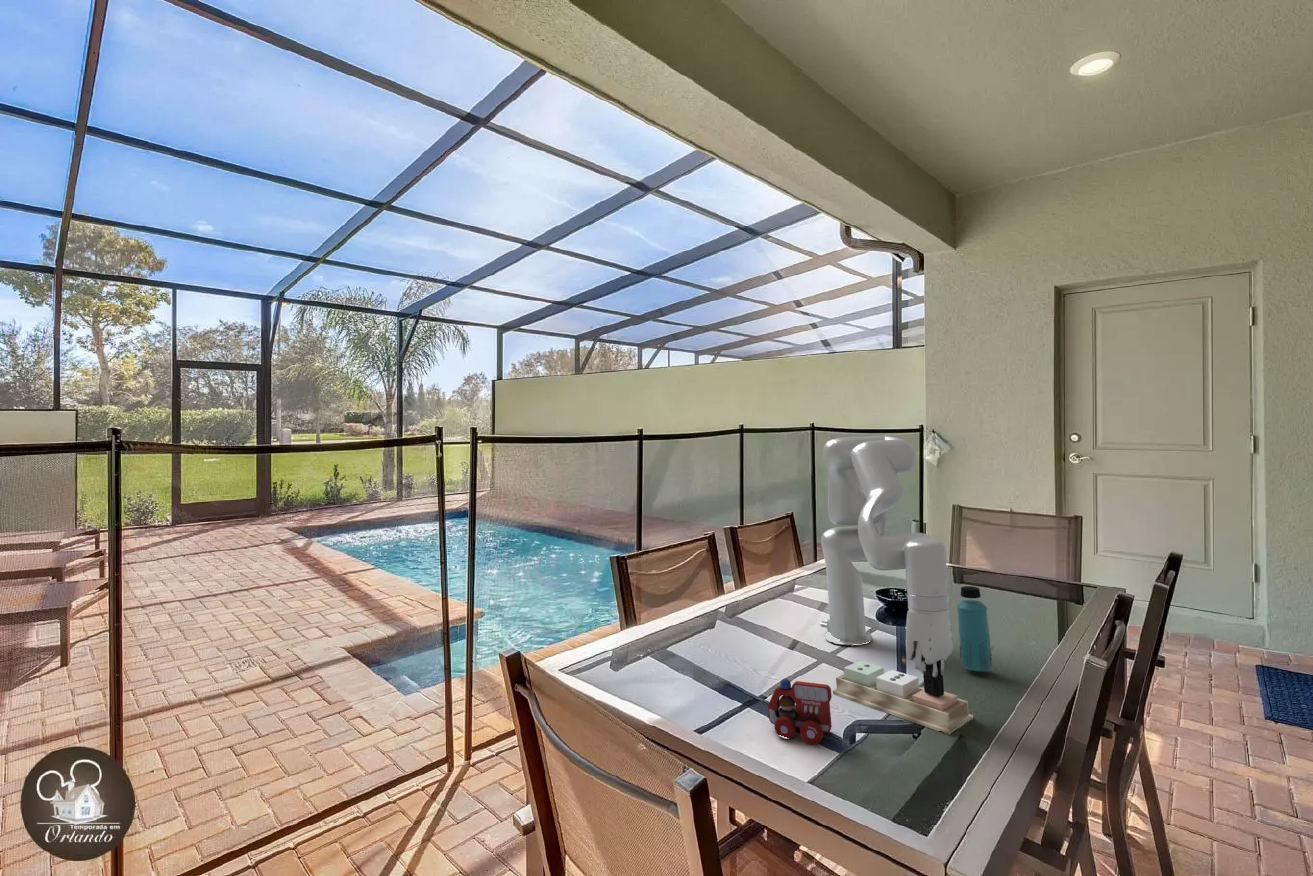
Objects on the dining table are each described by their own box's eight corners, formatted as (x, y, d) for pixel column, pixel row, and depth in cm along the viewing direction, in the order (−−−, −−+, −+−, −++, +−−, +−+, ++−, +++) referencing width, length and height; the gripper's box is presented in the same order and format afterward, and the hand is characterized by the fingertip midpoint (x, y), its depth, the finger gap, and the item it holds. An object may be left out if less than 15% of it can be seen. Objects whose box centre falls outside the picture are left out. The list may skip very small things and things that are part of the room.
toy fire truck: (776, 720, 119) (773, 669, 119) (838, 732, 112) (834, 678, 113) (765, 736, 113) (761, 682, 113) (829, 749, 106) (826, 692, 107)
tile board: (832, 693, 130) (831, 678, 130) (858, 681, 135) (857, 666, 135) (949, 735, 109) (948, 716, 109) (973, 718, 115) (972, 701, 115)
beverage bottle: (997, 678, 133) (991, 590, 133) (965, 678, 134) (959, 590, 134) (987, 667, 139) (981, 583, 139) (957, 667, 140) (951, 584, 141)
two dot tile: (844, 683, 129) (843, 667, 129) (860, 676, 133) (859, 660, 133) (868, 691, 124) (867, 674, 124) (884, 683, 128) (883, 667, 128)
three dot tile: (877, 694, 123) (875, 677, 123) (893, 686, 126) (891, 669, 126) (903, 703, 118) (902, 685, 118) (919, 694, 122) (918, 677, 122)
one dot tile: (913, 713, 116) (912, 695, 116) (929, 704, 120) (927, 686, 120) (943, 723, 112) (941, 704, 112) (958, 713, 115) (957, 695, 115)
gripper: (929, 591, 124) (935, 678, 123) (889, 606, 115) (896, 699, 114) (965, 597, 118) (971, 688, 117) (926, 613, 109) (933, 712, 108)
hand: (934, 693), depth 116 cm, fingers closed
